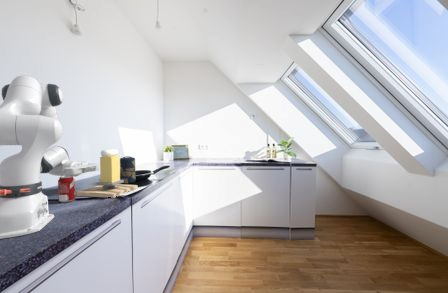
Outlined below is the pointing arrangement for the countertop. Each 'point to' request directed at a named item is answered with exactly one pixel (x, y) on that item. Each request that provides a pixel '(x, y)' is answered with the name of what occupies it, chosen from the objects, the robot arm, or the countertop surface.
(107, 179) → the yellow boxy piece
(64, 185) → the soda can
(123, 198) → the countertop surface
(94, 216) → the countertop surface
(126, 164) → the canister
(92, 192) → the wooden slatted trivet
